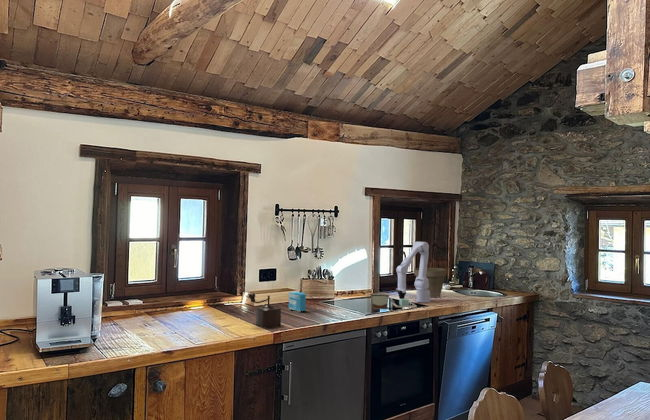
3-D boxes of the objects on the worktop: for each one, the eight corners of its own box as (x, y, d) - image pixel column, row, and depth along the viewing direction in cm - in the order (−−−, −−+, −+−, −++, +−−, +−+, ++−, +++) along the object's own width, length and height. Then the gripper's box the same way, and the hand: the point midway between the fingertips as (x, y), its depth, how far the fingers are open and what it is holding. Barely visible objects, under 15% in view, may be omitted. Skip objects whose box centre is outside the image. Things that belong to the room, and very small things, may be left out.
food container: (388, 307, 321) (389, 292, 321) (389, 309, 315) (389, 294, 315) (370, 307, 322) (370, 292, 323) (370, 308, 316) (370, 293, 317)
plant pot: (413, 298, 364) (413, 269, 365) (414, 293, 388) (414, 267, 389) (446, 299, 358) (446, 270, 359) (445, 294, 383) (445, 268, 383)
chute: (407, 301, 350) (407, 299, 350) (416, 307, 323) (416, 305, 323) (388, 301, 348) (388, 299, 348) (396, 307, 322) (396, 305, 322)
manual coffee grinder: (271, 322, 270) (271, 290, 271) (281, 325, 261) (281, 293, 262) (246, 325, 261) (247, 292, 262) (256, 329, 252) (256, 295, 253)
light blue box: (288, 310, 308) (288, 291, 309) (293, 309, 311) (294, 291, 312) (300, 312, 300) (300, 293, 300) (305, 312, 303) (305, 293, 303)
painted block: (406, 304, 335) (406, 298, 336) (408, 305, 328) (408, 300, 329) (399, 304, 335) (399, 298, 335) (401, 305, 328) (401, 300, 328)
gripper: (394, 281, 344) (394, 300, 344) (398, 283, 329) (398, 303, 329) (403, 281, 344) (403, 300, 344) (408, 283, 330) (408, 303, 330)
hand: (401, 301), depth 337 cm, fingers closed
